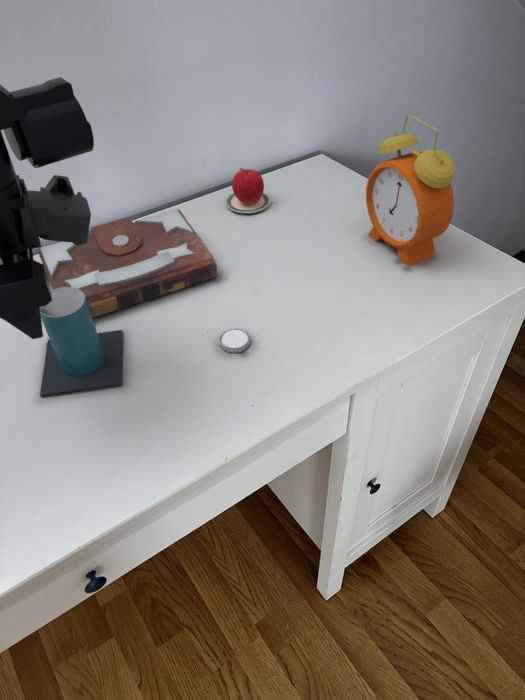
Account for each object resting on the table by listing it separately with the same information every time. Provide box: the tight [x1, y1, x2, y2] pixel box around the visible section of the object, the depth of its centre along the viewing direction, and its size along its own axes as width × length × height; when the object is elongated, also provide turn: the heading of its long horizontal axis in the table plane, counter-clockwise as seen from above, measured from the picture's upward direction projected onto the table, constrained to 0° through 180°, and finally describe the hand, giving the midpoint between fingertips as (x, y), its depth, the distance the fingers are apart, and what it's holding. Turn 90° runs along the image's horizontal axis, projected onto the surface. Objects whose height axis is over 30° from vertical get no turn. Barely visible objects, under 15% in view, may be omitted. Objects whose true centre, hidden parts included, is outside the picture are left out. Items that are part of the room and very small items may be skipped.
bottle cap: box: [219, 328, 251, 353], centre depth 76 cm, size 4×4×1 cm
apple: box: [224, 167, 271, 214], centre depth 99 cm, size 8×8×6 cm
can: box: [40, 287, 104, 376], centre depth 70 cm, size 6×6×10 cm
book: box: [37, 208, 218, 319], centre depth 85 cm, size 23×16×5 cm
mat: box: [39, 329, 124, 399], centre depth 74 cm, size 10×10×1 cm
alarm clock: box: [365, 114, 456, 267], centre depth 84 cm, size 13×6×20 cm, turn 30°
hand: (34, 310), depth 63 cm, fingers open, 9 cm apart
